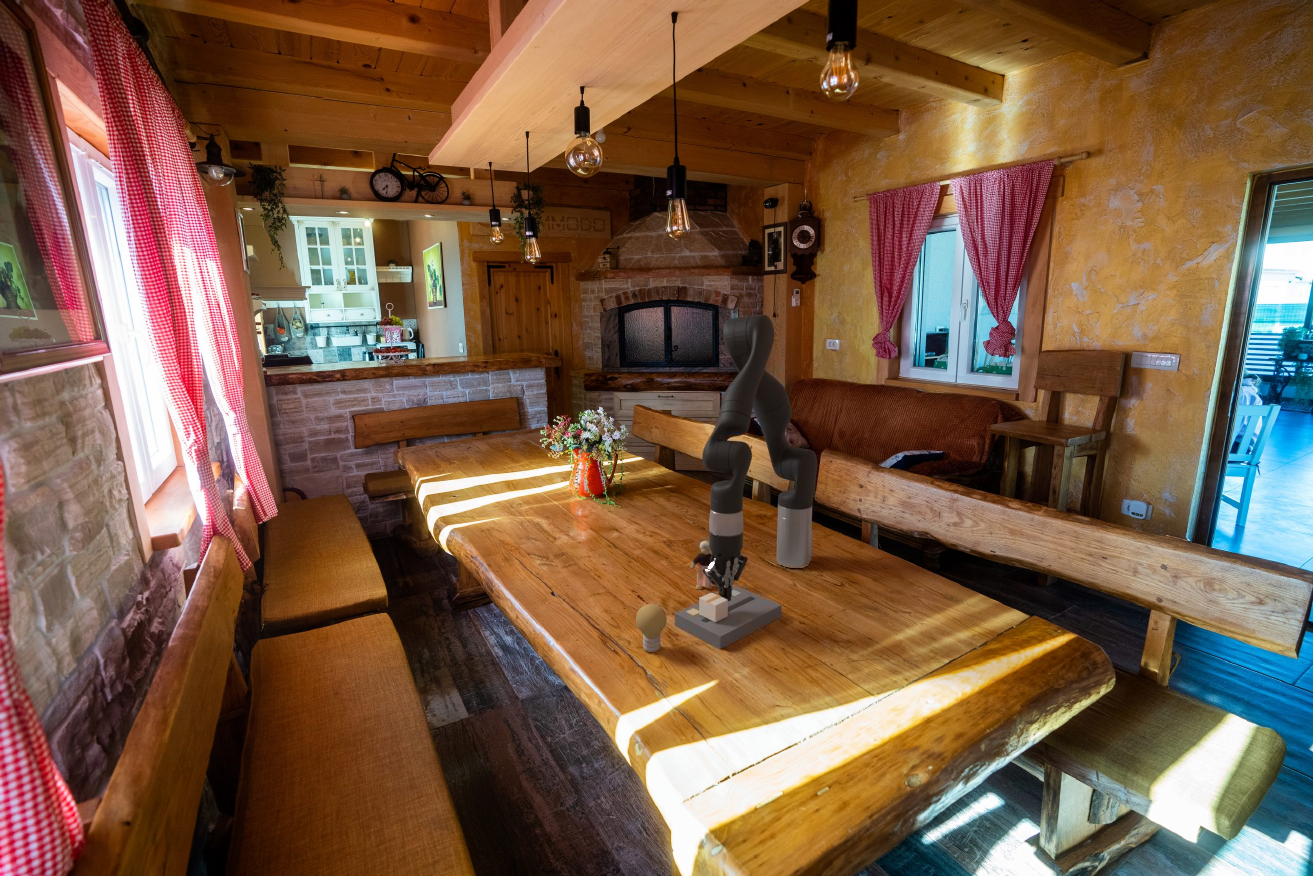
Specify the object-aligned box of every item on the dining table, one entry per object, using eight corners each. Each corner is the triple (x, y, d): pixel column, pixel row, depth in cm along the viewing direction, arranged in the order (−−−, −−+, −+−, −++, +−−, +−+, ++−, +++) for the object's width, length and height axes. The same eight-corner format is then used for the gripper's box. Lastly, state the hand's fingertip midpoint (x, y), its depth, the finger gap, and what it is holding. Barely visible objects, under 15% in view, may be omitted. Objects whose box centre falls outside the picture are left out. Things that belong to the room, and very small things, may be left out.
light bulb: (649, 638, 138) (649, 596, 136) (672, 647, 134) (672, 604, 132) (630, 650, 133) (629, 606, 131) (653, 660, 129) (653, 616, 127)
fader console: (736, 596, 157) (736, 585, 156) (781, 616, 147) (781, 604, 146) (674, 625, 144) (674, 612, 143) (720, 649, 133) (720, 636, 133)
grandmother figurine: (694, 592, 160) (694, 545, 157) (689, 585, 164) (689, 539, 161) (722, 588, 162) (723, 541, 159) (717, 582, 166) (717, 536, 163)
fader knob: (711, 608, 144) (711, 592, 143) (727, 616, 141) (728, 599, 140) (699, 614, 142) (699, 597, 141) (715, 622, 138) (715, 605, 137)
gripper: (733, 517, 147) (732, 586, 150) (693, 531, 138) (692, 604, 142) (758, 525, 141) (756, 597, 145) (718, 540, 132) (717, 616, 136)
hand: (725, 600), depth 143 cm, fingers closed
